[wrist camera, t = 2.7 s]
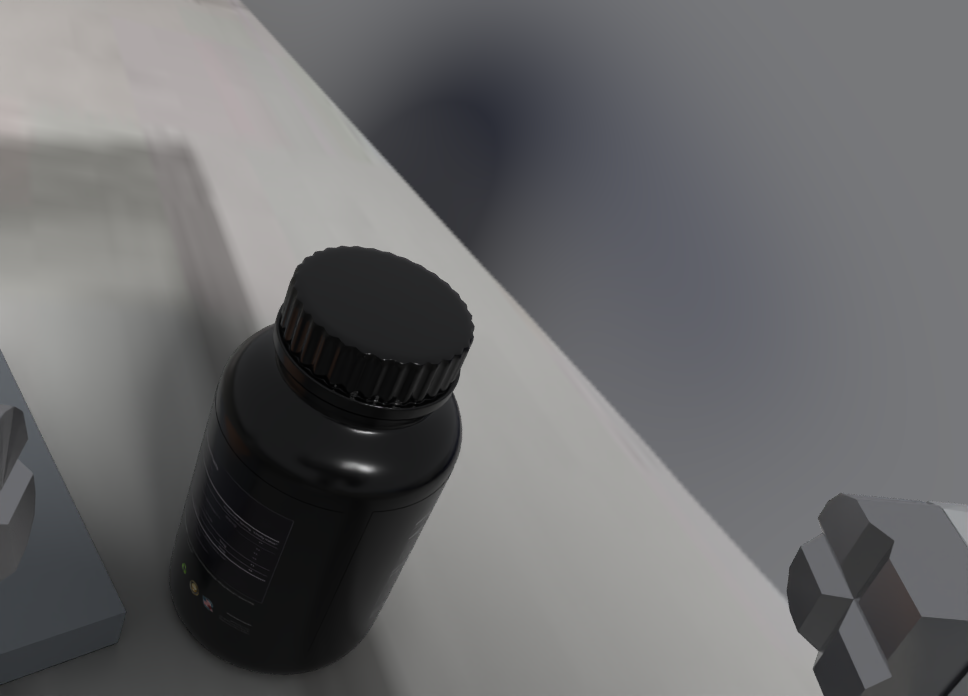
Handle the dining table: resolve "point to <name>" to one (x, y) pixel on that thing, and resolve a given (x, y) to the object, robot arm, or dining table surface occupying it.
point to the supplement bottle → (321, 462)
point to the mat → (52, 571)
